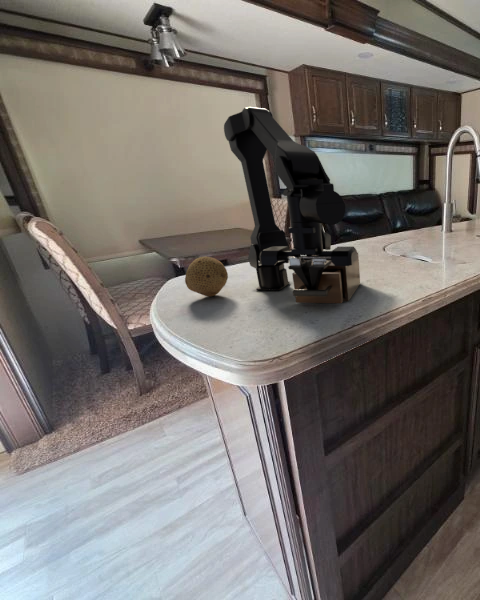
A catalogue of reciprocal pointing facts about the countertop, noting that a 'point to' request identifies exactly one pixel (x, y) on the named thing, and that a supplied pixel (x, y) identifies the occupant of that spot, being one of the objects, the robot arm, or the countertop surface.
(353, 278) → the cabinet
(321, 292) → the drawer
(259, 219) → the robot arm
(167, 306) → the countertop surface
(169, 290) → the countertop surface
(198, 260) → the natural sponge
